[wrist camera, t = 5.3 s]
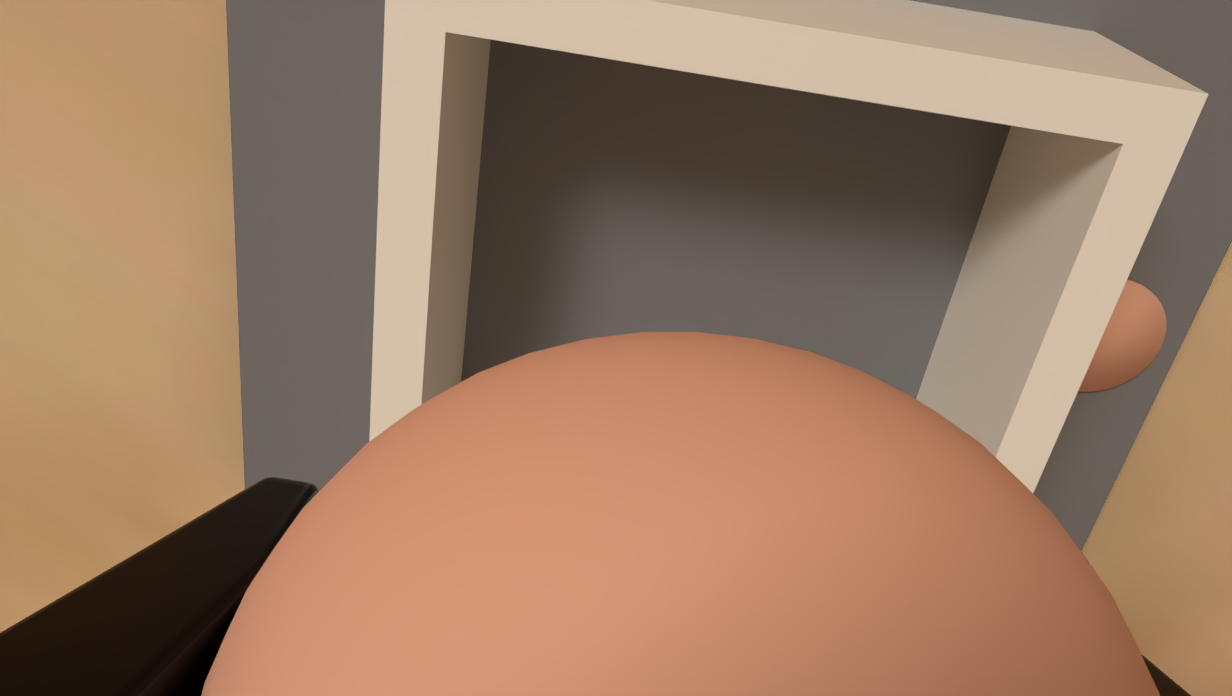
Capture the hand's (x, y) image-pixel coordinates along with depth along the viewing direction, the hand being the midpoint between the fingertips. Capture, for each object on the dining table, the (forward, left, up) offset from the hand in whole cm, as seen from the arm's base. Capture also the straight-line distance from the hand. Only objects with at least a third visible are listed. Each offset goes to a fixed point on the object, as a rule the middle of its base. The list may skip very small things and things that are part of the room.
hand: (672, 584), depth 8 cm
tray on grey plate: (-1, +2, -11) cm, 12 cm away
